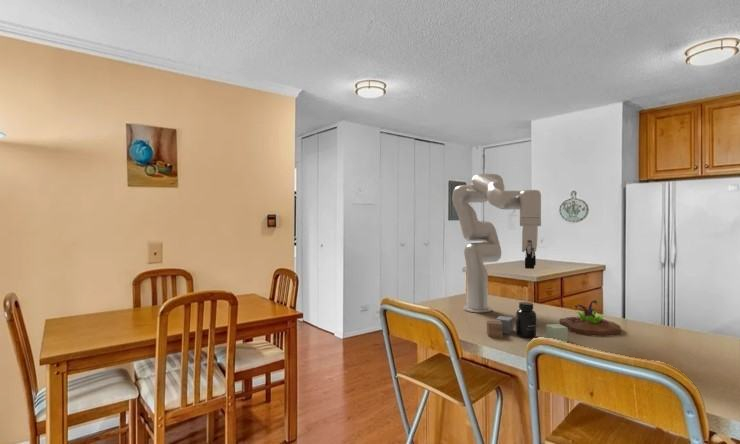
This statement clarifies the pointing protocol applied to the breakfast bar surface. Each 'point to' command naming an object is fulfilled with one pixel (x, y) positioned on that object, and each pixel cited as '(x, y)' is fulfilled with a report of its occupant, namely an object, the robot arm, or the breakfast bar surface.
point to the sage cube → (557, 332)
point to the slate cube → (506, 324)
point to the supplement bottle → (526, 320)
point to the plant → (590, 323)
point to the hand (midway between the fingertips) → (530, 266)
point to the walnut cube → (494, 328)
